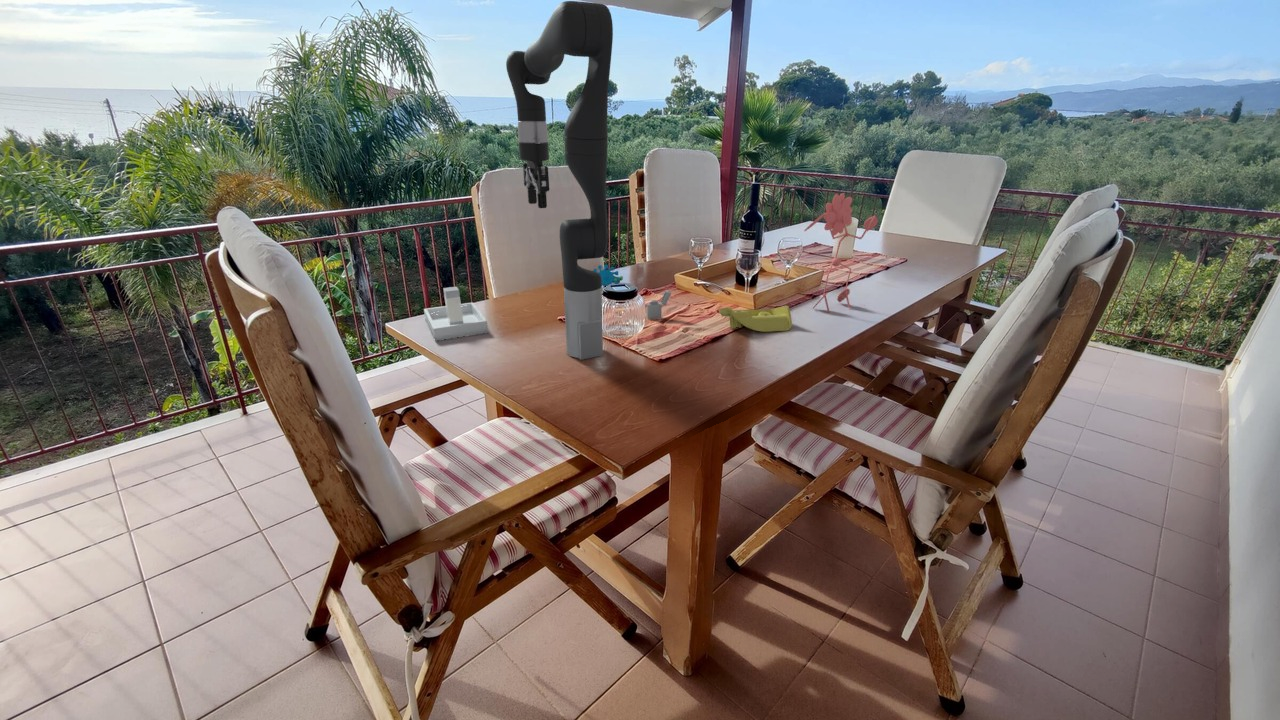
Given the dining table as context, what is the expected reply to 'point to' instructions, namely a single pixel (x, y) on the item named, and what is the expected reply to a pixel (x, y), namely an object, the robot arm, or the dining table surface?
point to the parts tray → (470, 326)
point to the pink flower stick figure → (836, 222)
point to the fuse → (453, 305)
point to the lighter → (657, 306)
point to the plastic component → (760, 318)
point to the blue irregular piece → (608, 275)
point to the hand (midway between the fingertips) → (537, 205)
